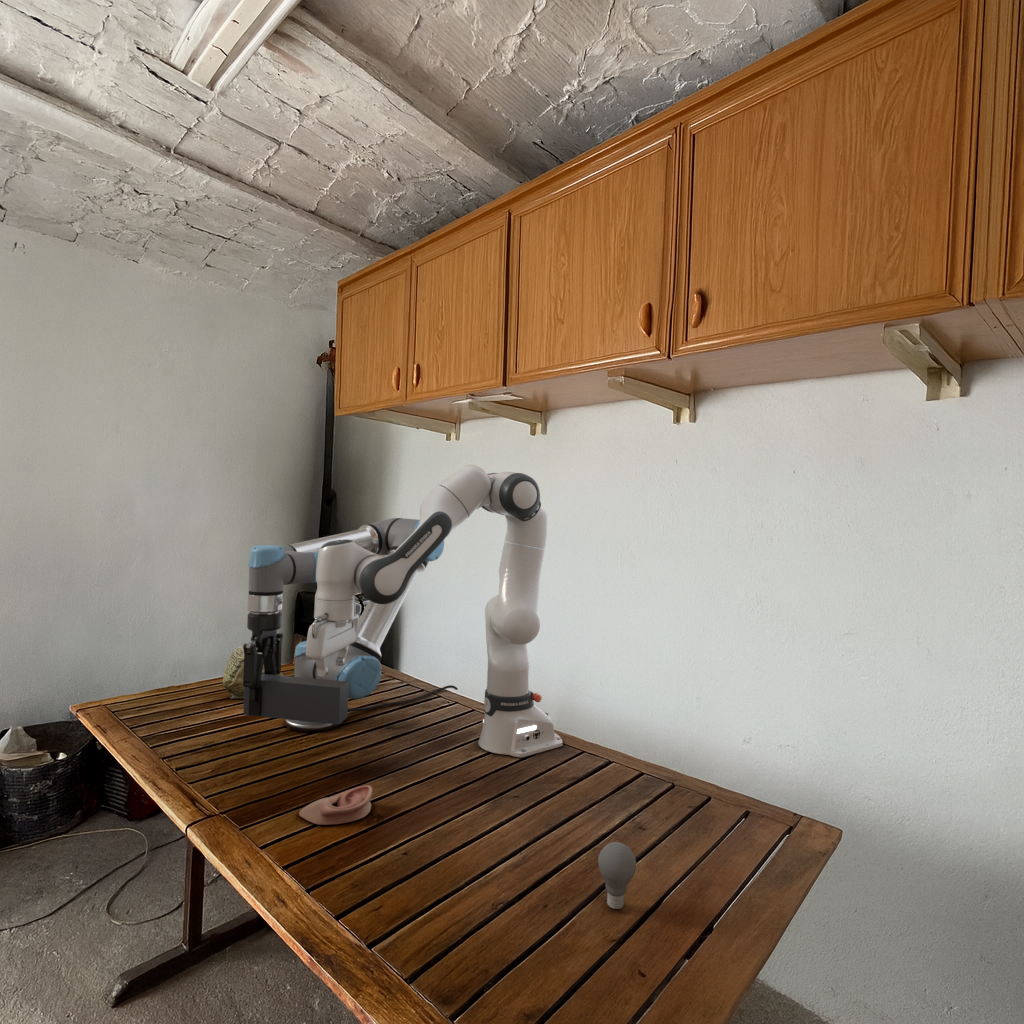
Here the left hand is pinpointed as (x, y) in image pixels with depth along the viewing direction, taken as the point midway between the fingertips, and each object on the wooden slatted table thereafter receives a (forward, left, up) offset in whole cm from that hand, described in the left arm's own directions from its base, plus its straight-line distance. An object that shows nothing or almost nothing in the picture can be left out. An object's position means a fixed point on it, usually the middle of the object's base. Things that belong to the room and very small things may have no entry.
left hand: (261, 710), depth 148 cm
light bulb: (-10, +89, -13) cm, 90 cm away
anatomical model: (+2, +32, -13) cm, 34 cm away
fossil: (-25, -48, -13) cm, 55 cm away
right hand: (-8, +15, +11) cm, 20 cm away
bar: (-4, +7, -1) cm, 9 cm away
